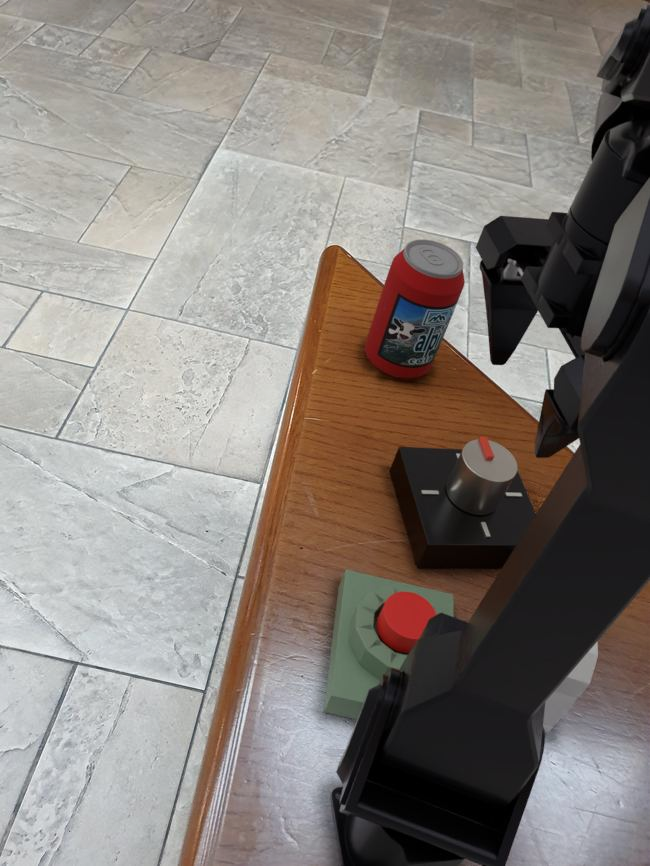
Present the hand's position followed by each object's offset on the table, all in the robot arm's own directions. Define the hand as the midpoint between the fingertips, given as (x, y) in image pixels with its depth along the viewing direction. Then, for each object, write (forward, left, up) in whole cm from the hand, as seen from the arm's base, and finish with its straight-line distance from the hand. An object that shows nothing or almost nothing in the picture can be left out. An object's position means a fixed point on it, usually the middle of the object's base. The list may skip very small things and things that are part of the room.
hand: (518, 407), depth 62 cm
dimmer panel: (0, 0, -12) cm, 12 cm away
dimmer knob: (0, 0, -9) cm, 9 cm away
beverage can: (+19, +1, -13) cm, 23 cm away
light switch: (-13, -2, -13) cm, 18 cm away
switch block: (-13, +9, -12) cm, 20 cm away
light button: (-13, +9, -9) cm, 18 cm away
